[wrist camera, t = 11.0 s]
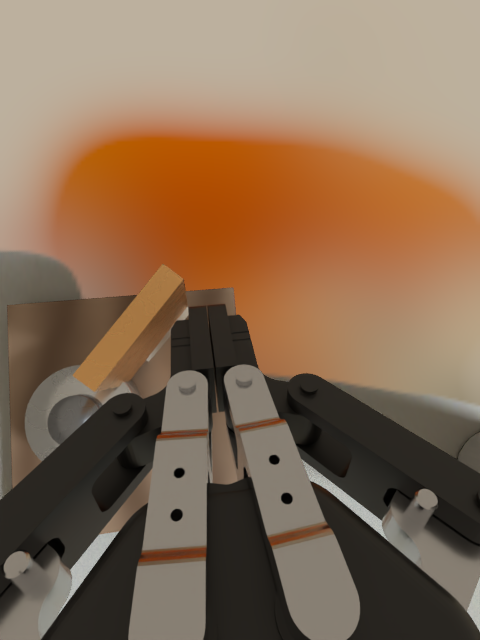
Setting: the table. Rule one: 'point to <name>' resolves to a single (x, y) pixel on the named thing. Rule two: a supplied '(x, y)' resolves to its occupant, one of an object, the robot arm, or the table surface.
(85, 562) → the table surface
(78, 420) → the lock handle
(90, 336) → the base
